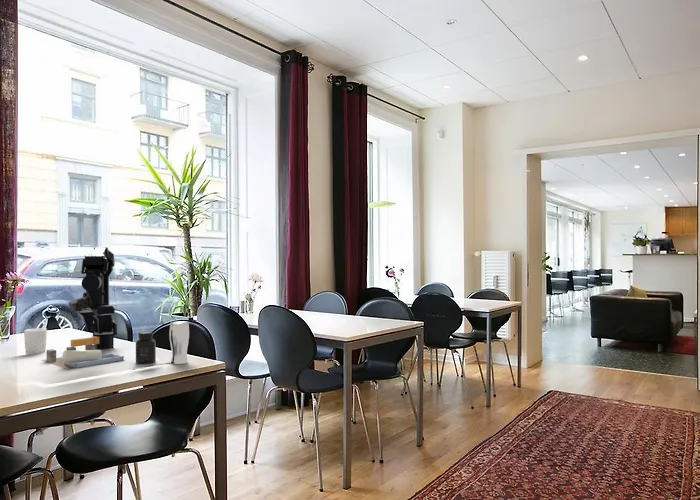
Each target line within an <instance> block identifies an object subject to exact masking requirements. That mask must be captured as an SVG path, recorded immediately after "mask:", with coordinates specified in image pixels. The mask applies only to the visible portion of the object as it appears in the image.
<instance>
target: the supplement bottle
mask: <svg viewBox="0 0 700 500" xmlns="http://www.w3.org/2000/svg"><path fill="white" fill-rule="evenodd" d="M137 337H138V339H137V340H136V341H135V364H136V365H146V366H144V367H145V368H146V367H148V365H149V367H153V366H154V363H156V362H157V361H156V359H157V357H156V356H157V355H156V354H157V350H156V344H157V343H156V339H154V338H153V337H154V335H153V331H139V332H138V335H137ZM151 364H152V365H151Z"/></svg>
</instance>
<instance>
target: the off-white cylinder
mask: <svg viewBox="0 0 700 500" xmlns="http://www.w3.org/2000/svg"><path fill="white" fill-rule="evenodd" d="M102 354H103V351H102V349H98V350H96V349H95V350H85V349H79V350H78V349H76V350H64V351H63V352H62V356H61V357H62V359H63V362H84V361H95V360H101V357H102Z"/></svg>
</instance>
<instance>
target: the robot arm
mask: <svg viewBox="0 0 700 500" xmlns="http://www.w3.org/2000/svg"><path fill="white" fill-rule="evenodd" d="M115 261H116V260H115V255H114V253H113V252H112V251H110V249H109V247H108V246H95V247H94V246H93V251H92V252H91V253H90V254H86V255H85V256H84V257H83V258H82V263H81V272H80V274H81V275H85V276H84V277H83V278H82V281H81V287H82V288H83V290H85V291H84V292H83V293H82V297H79V298H76V299H74V300H71V301H69V302H68V303H67V304H68V307H69V309H70V311H71V312H77V314H78V315H79V316H80V317H82V319H83V323H84V326H85V329H86V332H92V337H94V336H96V337H99V344H93V345H95V350H108V349H113V350H116V348H114V341H115V340H114V339H115V338H114V336H117V335H118V324H117V323H116V320H114V317H115V316H114V315H115V312H116V311H115V310H116V309H115V307H114V306H113V305H111V304H110V275H111V274H112V272H113V270H114V268H115V265H116V264H115Z"/></svg>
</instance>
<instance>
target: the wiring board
mask: <svg viewBox="0 0 700 500" xmlns="http://www.w3.org/2000/svg"><path fill="white" fill-rule="evenodd" d="M84 346H85V347H84V350H96V349H95V345H94V344H91V345H84ZM66 350H77V346H76V347H72V346H67V347H66ZM102 355H104V354H103V353H102ZM40 361H42V362H44V363H47V364H50V365H54V366H56V367H59V368H62V369H66V370H68V371H70V370H75V369H78V368H73V367H70V366H67V365H64V362H63V359H62V356H61V357H57V349H53V348H51V349H46V359H42V360H40ZM125 361H126V360H125V359H124V360H123V361H122V362H125ZM119 362H120V361H117V362H116V363H119ZM111 363H114V362H110V363H109V364H111ZM106 364H107V365H108V363H104V364H103V365H106ZM99 365H102V364H98V365H97V366H99ZM93 366H96V365H92V366H91V367H93ZM87 367H90V366H86V367H85V368H87ZM82 368H84V367H80V368H79V369H82Z"/></svg>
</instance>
